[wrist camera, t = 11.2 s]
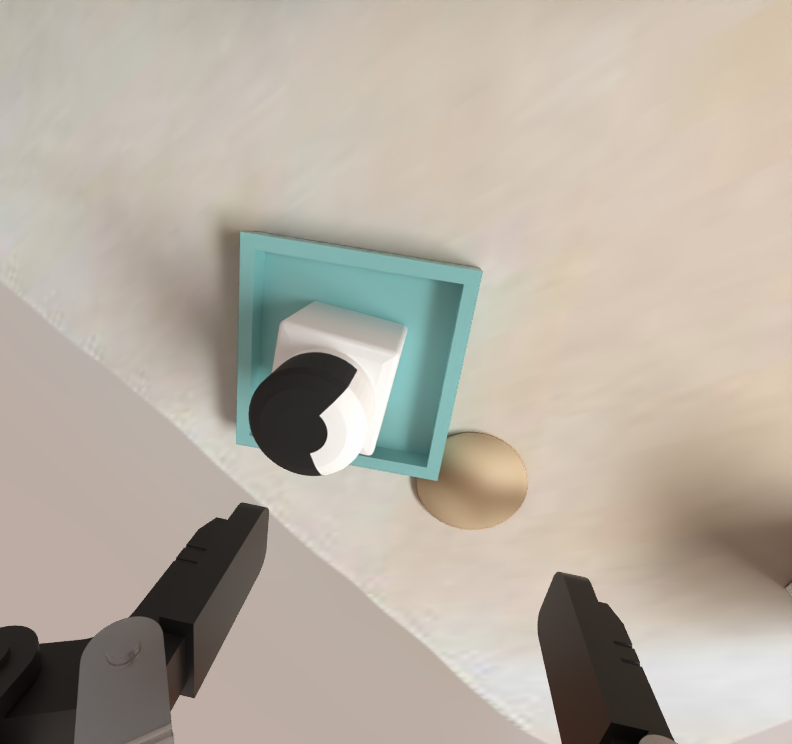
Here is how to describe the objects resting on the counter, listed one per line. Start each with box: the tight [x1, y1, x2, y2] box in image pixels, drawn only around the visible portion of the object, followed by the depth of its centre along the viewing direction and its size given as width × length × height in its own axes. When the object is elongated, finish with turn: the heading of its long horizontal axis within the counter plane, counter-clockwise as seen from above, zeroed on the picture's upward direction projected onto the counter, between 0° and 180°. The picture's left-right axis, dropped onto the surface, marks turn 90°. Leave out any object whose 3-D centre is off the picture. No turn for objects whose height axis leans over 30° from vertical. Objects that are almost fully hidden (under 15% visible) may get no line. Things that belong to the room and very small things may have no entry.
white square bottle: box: [248, 301, 407, 476], centre depth 26 cm, size 7×7×12 cm
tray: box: [236, 231, 483, 481], centre depth 31 cm, size 16×16×2 cm
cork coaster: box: [417, 433, 528, 530], centre depth 35 cm, size 9×9×1 cm
